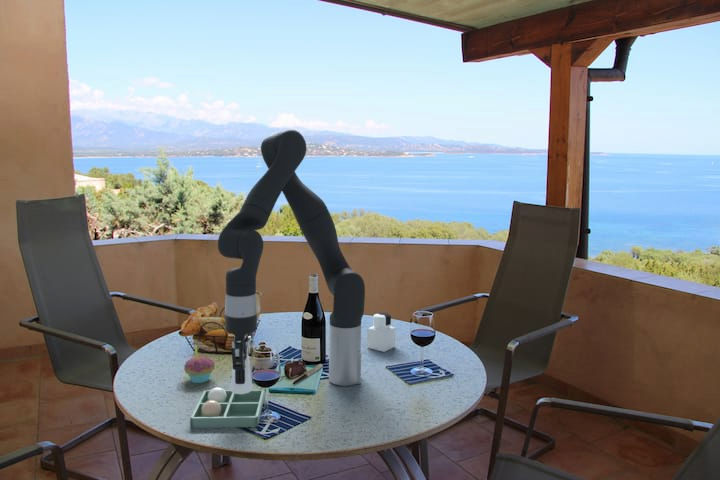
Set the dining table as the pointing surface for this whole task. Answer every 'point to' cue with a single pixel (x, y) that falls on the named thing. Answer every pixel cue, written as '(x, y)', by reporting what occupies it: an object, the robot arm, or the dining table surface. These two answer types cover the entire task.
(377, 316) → the medicine bottle
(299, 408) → the dining table surface
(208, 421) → the egg tray
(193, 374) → the cupcake
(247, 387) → the salt shaker
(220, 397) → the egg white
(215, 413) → the egg brown
